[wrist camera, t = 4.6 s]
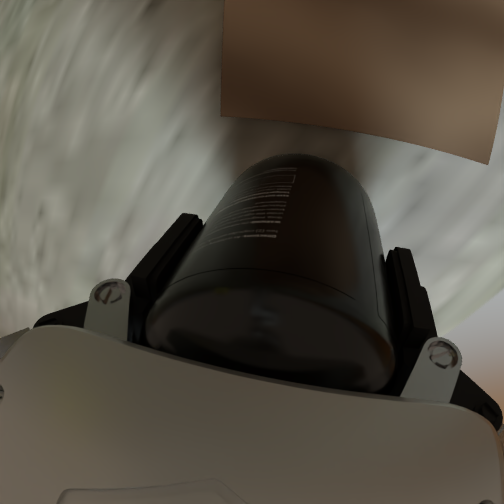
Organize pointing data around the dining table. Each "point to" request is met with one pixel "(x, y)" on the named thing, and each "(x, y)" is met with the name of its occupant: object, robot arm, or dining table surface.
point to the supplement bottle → (285, 283)
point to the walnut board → (370, 68)
